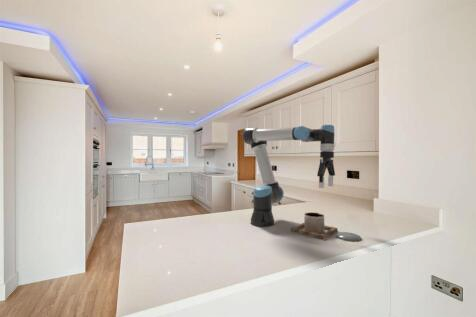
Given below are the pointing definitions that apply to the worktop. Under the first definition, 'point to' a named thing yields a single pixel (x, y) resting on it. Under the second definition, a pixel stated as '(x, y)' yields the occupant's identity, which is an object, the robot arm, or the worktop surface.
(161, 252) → the worktop surface
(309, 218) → the planter
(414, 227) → the worktop surface
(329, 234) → the holder frame
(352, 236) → the slate trivet
